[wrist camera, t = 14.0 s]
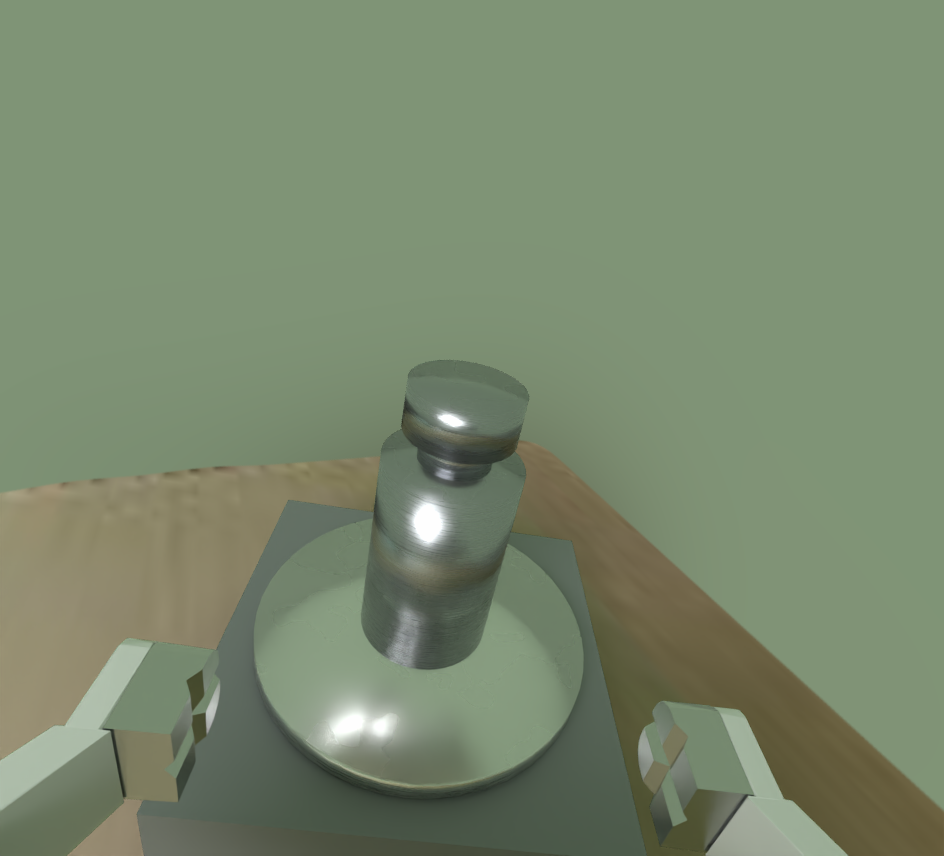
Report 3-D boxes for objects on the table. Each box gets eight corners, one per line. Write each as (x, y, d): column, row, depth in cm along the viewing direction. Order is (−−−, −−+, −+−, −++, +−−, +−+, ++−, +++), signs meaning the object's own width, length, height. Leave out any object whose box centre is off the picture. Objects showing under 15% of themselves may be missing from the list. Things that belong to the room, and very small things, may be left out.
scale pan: (192, 776, 16) (190, 759, 15) (304, 513, 26) (304, 499, 26) (608, 818, 17) (616, 803, 16) (555, 549, 27) (559, 536, 27)
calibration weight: (350, 661, 19) (380, 407, 14) (370, 565, 23) (399, 344, 18) (485, 677, 19) (556, 435, 15) (482, 580, 23) (537, 367, 19)
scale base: (155, 919, 18) (136, 814, 15) (288, 583, 30) (291, 493, 28) (589, 954, 19) (648, 863, 16) (542, 617, 32) (570, 533, 29)
